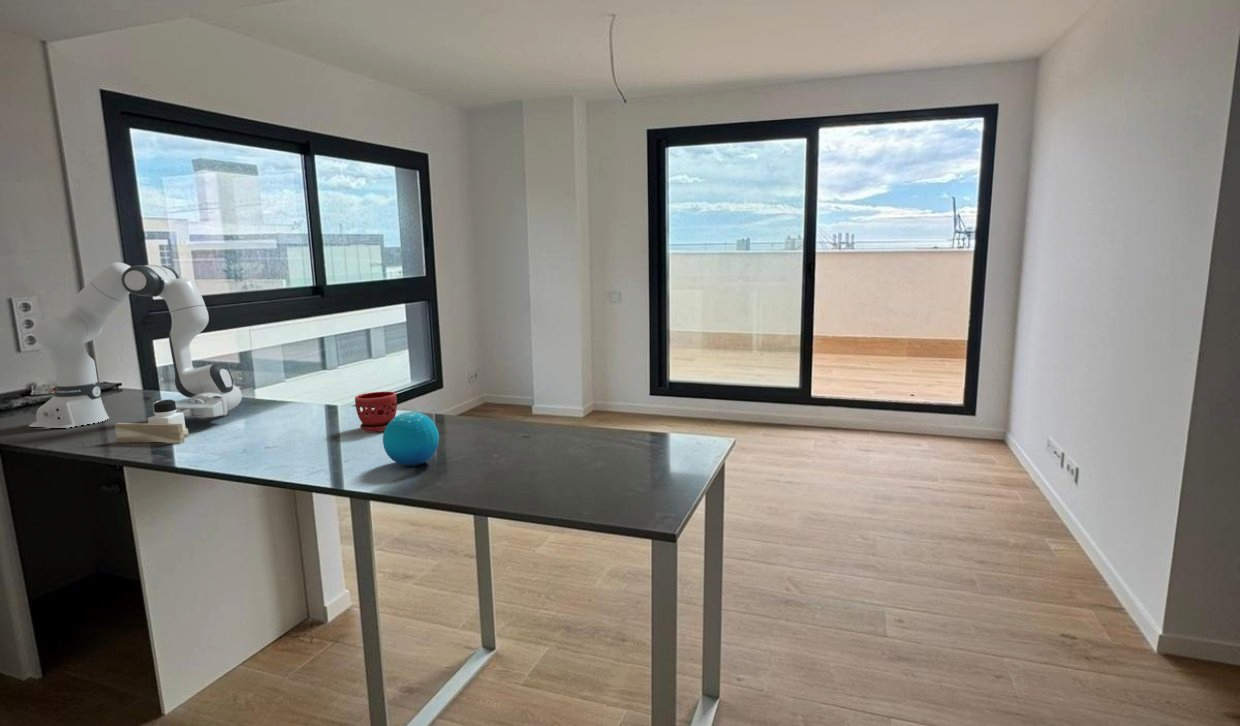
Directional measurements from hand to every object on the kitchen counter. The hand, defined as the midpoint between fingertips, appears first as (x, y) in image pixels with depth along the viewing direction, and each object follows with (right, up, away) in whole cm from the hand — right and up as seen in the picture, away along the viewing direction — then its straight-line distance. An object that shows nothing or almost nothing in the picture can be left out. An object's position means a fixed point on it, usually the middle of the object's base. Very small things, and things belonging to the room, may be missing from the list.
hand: (173, 415), depth 214 cm
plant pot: (+67, -5, +4) cm, 67 cm away
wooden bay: (-1, -7, -6) cm, 9 cm away
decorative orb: (+91, -11, -34) cm, 98 cm away
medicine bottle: (0, -7, -3) cm, 7 cm away
